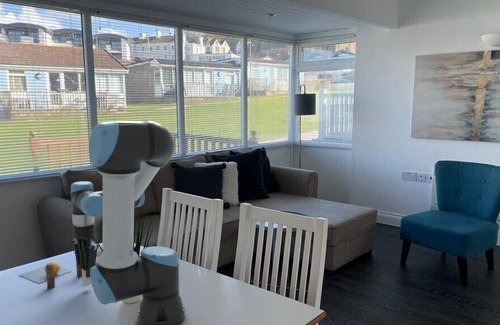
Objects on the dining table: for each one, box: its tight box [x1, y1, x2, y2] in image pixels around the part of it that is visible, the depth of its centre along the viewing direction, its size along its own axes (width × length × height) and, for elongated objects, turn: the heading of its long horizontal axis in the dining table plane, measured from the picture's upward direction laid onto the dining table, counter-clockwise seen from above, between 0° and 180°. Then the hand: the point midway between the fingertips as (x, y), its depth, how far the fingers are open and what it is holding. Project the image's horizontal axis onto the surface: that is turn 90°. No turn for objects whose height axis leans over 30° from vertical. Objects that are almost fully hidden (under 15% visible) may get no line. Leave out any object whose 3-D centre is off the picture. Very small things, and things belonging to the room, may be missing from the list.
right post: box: [75, 260, 82, 278], centre depth 164 cm, size 3×3×9 cm
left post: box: [45, 262, 56, 290], centre depth 154 cm, size 3×3×9 cm
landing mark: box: [18, 265, 72, 284], centre depth 167 cm, size 14×14×1 cm
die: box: [96, 243, 103, 259], centre depth 180 cm, size 8×9×10 cm
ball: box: [44, 261, 61, 275], centre depth 165 cm, size 6×6×6 cm
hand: (87, 284), depth 153 cm, fingers closed
